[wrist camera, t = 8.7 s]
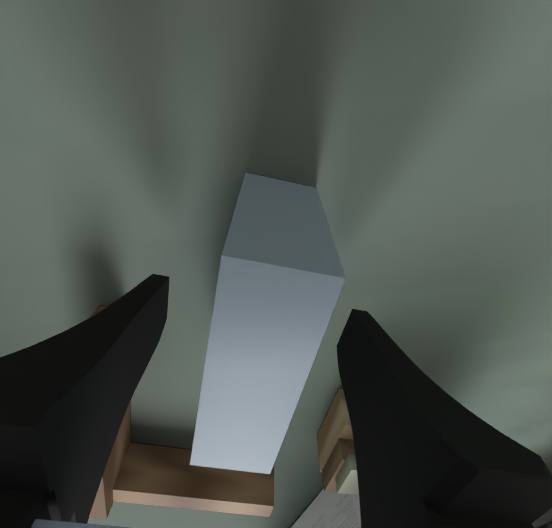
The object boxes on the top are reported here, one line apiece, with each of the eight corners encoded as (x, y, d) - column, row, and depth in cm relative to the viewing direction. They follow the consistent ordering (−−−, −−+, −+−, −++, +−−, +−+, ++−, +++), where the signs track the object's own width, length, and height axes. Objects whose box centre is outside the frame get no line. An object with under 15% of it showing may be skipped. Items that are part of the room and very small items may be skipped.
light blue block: (218, 332, 18) (189, 464, 12) (245, 172, 14) (221, 255, 8) (272, 341, 18) (270, 474, 12) (315, 187, 14) (345, 278, 8)
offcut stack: (316, 435, 23) (324, 509, 19) (338, 388, 20) (353, 461, 17) (351, 440, 23) (366, 513, 19) (377, 393, 21) (400, 467, 17)
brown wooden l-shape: (108, 451, 24) (80, 516, 20) (98, 305, 17) (53, 365, 14) (269, 470, 25) (269, 534, 22) (319, 341, 18) (329, 405, 15)
